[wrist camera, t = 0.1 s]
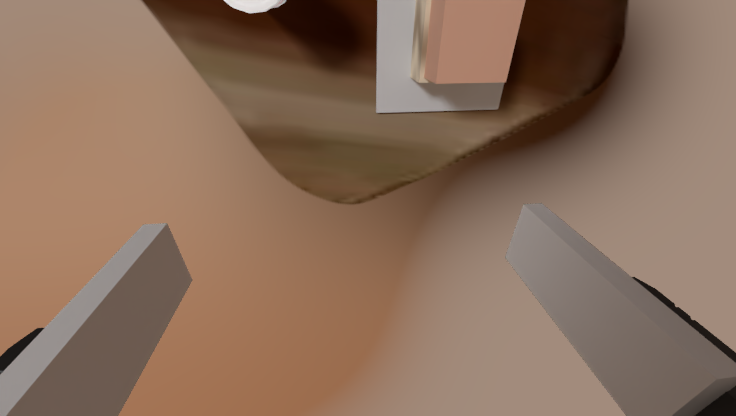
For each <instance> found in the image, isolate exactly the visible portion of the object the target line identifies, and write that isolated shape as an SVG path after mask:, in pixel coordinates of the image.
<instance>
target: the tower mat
mask: <svg viewBox="0 0 736 416" xmlns="http://www.w3.org/2000/svg"><path fill="white" fill-rule="evenodd" d="M415 4H416V0H377V76H376V113H393V112H426V111H460V110H494V109H498V107H499V103H500V99H501V95H502V90H503V86H504V82H500V83H450V84H435V83H418V82H417V81H415V80H413V79H412V78H410V74H411V60H412V46H413V32H414V18H415Z"/></svg>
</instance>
